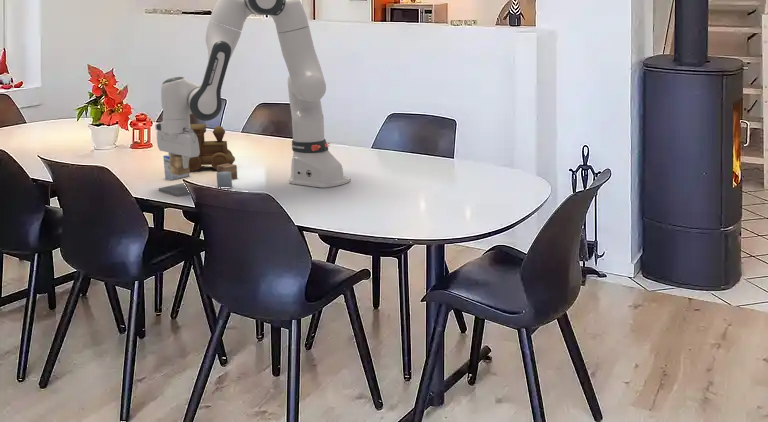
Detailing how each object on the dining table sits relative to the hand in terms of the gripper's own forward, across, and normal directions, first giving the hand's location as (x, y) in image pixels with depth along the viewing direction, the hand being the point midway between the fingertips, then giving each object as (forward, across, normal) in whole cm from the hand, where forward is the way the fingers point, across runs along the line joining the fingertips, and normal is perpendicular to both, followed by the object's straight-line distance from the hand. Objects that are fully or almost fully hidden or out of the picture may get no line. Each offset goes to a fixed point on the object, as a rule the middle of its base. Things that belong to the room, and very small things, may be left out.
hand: (179, 166), depth 295 cm
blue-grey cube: (+8, -7, -13) cm, 17 cm away
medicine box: (+9, +19, -11) cm, 23 cm away
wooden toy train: (+8, +23, -27) cm, 36 cm away
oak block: (+2, 0, 0) cm, 2 cm away
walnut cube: (+8, +3, -21) cm, 23 cm away
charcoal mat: (+8, 0, 0) cm, 8 cm away
